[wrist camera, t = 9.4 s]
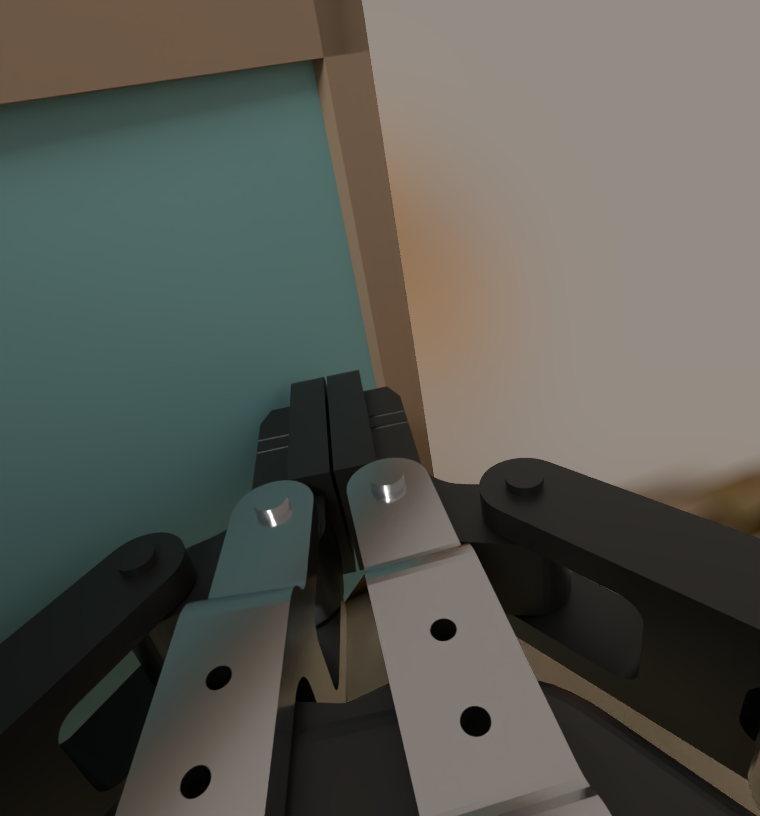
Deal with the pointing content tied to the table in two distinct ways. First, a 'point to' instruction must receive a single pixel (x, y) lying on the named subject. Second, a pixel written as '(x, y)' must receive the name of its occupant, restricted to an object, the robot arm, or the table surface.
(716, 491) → the table surface
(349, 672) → the table surface
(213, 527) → the gate leaf
